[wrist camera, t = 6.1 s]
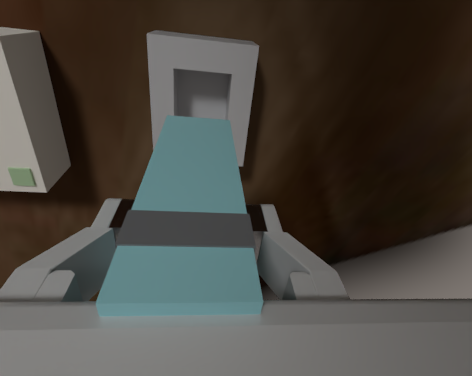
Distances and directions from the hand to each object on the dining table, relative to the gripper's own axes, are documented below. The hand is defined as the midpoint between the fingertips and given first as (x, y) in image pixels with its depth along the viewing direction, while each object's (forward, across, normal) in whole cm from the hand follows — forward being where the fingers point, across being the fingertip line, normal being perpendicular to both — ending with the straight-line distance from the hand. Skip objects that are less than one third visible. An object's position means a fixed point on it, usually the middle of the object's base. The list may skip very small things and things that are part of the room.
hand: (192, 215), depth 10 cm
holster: (+18, 0, 0) cm, 18 cm away
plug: (+5, 0, 0) cm, 5 cm away
